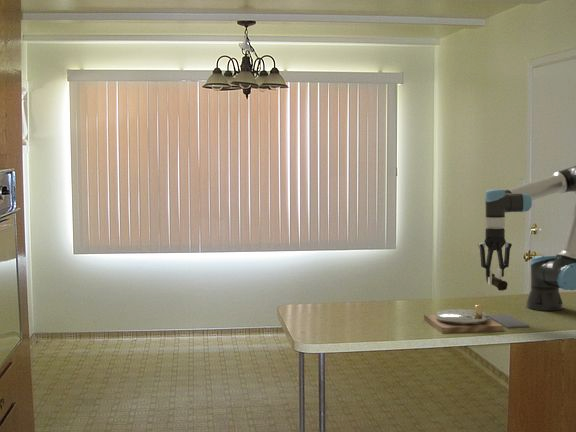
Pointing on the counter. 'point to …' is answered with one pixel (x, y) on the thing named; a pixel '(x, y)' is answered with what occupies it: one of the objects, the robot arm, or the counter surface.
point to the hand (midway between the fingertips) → (494, 284)
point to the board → (453, 328)
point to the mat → (508, 321)
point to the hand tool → (498, 283)
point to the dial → (463, 316)
